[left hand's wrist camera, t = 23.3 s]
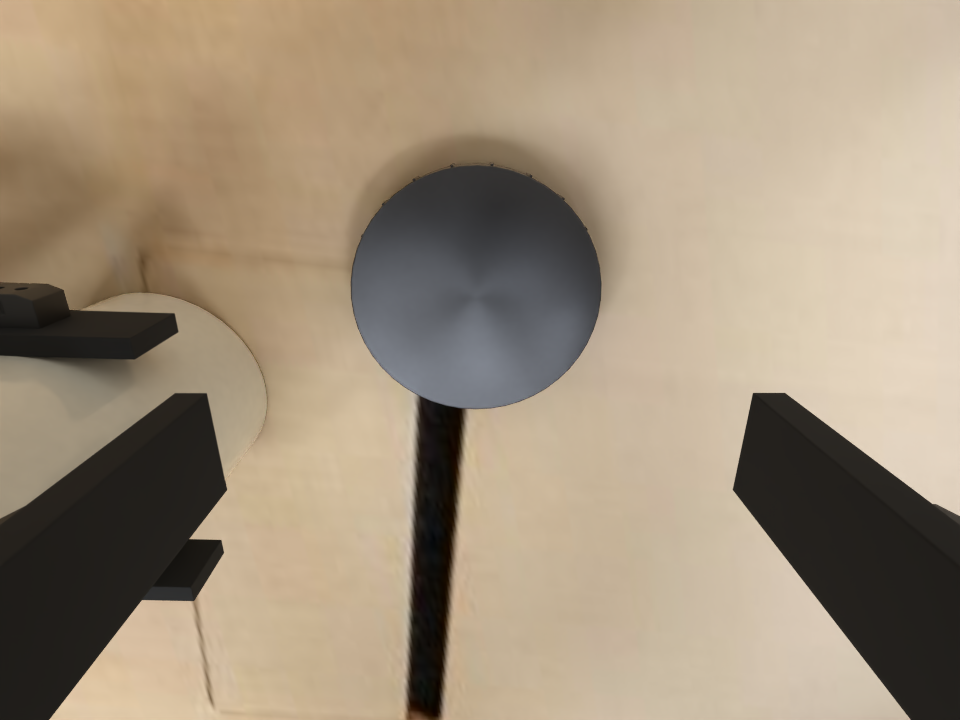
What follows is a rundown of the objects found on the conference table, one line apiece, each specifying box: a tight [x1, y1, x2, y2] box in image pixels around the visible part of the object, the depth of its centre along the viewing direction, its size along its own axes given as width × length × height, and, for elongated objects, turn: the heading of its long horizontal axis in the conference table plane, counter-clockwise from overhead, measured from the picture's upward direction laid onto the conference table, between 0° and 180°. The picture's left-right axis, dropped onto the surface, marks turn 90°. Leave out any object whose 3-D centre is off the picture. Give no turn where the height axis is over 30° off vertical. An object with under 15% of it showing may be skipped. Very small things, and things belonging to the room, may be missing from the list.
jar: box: [0, 293, 267, 518], centre depth 18 cm, size 10×10×17 cm
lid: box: [351, 162, 601, 409], centre depth 23 cm, size 11×11×2 cm
